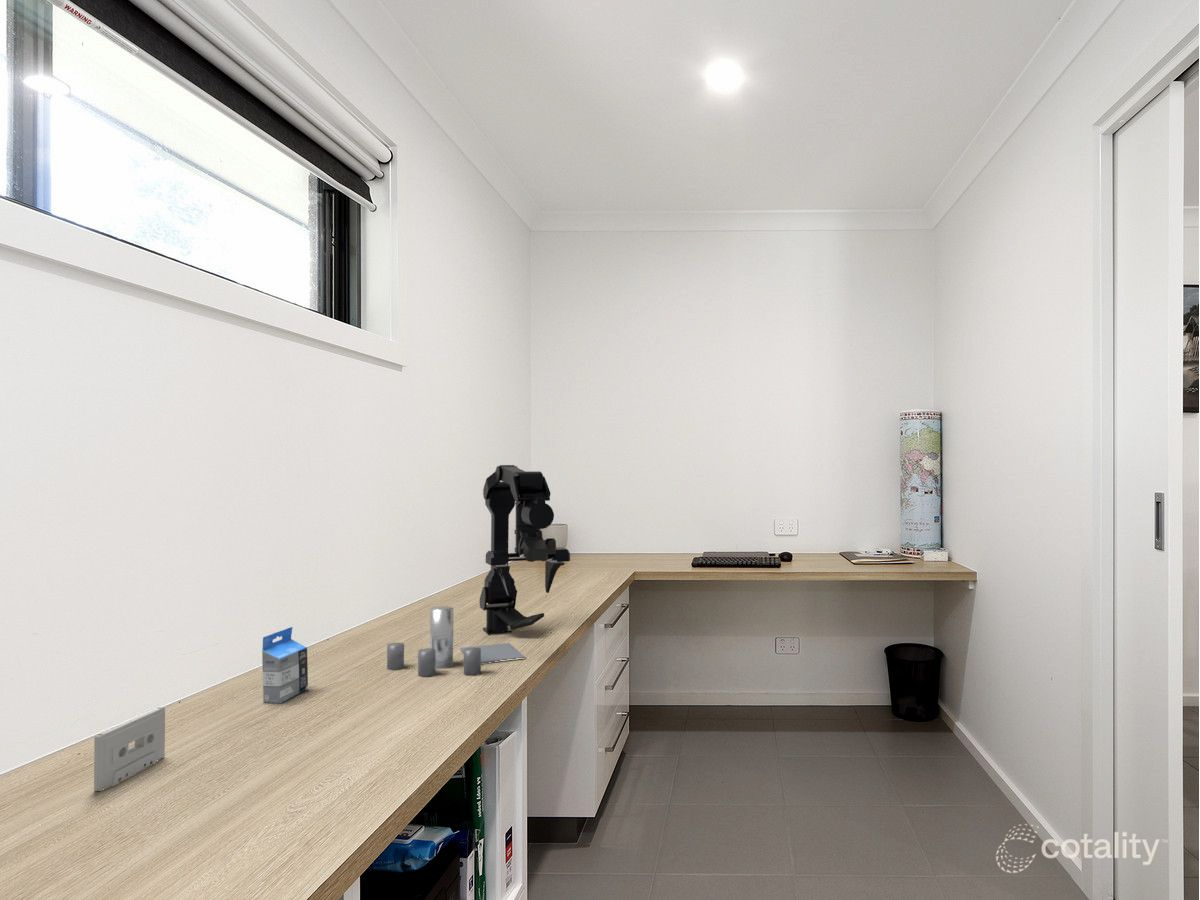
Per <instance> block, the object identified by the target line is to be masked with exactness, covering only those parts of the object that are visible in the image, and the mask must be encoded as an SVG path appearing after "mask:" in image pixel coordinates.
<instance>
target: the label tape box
mask: <svg viewBox="0 0 1200 900" xmlns="http://www.w3.org/2000/svg"><path fill="white" fill-rule="evenodd" d="M292 634H293V626H290V627H287V628H285V629H283V630H279V631H276V632H274V633H271V634H268V635H265V636H263V637H262V646H261V647H262V649H261V651H262V652H261V653H262V657H261V659H262V663H261V664H262V666H261V667H262V691H263V692H262V695H263V697H262V699H263V700H262V701H263V702H262V703H264V702H266V704H282V703H283V702H287V701H289V699H291V698H294V697H295V696H297V695H299V694H301V693H302V692H305V691H306V690H308V689H309V675H308V674H309V673H308V671H309V670H308V667H309V666H308V665H309V664H308V647H306V646H305V645H303V644H301V643H299V642H297V641H296V640H293V639H292V636H293V635H292ZM277 638H281V639H279V640H276V639H277ZM274 640H276V641H274ZM273 641H274V642H273ZM304 690H305V691H304ZM268 702H270V703H268Z"/></svg>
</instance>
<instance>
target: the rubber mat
mask: <svg viewBox="0 0 1200 900" xmlns="http://www.w3.org/2000/svg"><path fill="white" fill-rule="evenodd" d="M471 647H477V648H480V649H481V665H483V664H482V663H487V664H490V663H489V662H495V661H500V660H507V659H516V658H525V657H526V656H525V655H524V654H522V652H520V651H519V650H518V649H517V648H515V647H514V646H513V645H512V644H511V643H510V642H506V643H505V642H504V643H495V644H486V645H485V644H484V645H474V646H473V645H472V646H464V647H459V650H460V652H461V653H462V654H463V655H464V649H466V648H471Z"/></svg>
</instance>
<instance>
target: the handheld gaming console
mask: <svg viewBox="0 0 1200 900" xmlns="http://www.w3.org/2000/svg"><path fill="white" fill-rule="evenodd" d="M502 609H503V608H501V609H499V610H497V611H496V612H495V613H494V614H495V615H497V616H498V617H499V618H500V619H501V620H502V621H504V622H505V623H506V624H507V625H508V627H509V628H510V629H511V630H512V631H513V630H518V629H521V628H525V627H526V628H527V627H529V626H532V625H534V624H535V623H537V622H538V621H540V620H541V619H543V618H544V617H545V612H541V613H537V614H532V615H530V616H529V615H528V616H525V615H524V614H522V613H521V612H520V611H518V609H516V607H515V608H508V611H506V612H504V611H502Z"/></svg>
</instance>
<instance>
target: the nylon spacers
mask: <svg viewBox="0 0 1200 900" xmlns="http://www.w3.org/2000/svg"><path fill="white" fill-rule="evenodd" d="M470 647H471V648H466V649H464V654H463V675H464V676H468V675H473V676H477V674H479V675H481V673H482V664H481V649H480V648H477V647H473V646H470ZM417 655H418V656H417V660H418V661H417V675H418V676H419V677H422V678H423V677H424V678H427V677H428V676H429V677H433V676H435V675H436V674H437V673H436V671H437V668H436V650H435V649H432V648H430V647H427V648H421V649H418V651H417ZM404 668H405V643H404V642H391V643H388V644H386V669H387V670H389V671H395V670H401V669H404ZM429 677H428V678H429Z"/></svg>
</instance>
